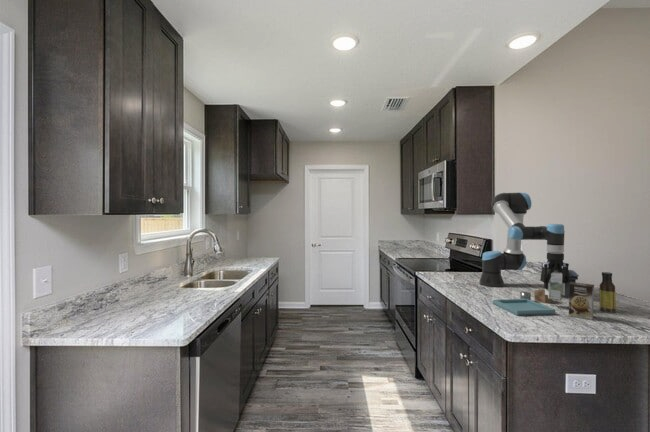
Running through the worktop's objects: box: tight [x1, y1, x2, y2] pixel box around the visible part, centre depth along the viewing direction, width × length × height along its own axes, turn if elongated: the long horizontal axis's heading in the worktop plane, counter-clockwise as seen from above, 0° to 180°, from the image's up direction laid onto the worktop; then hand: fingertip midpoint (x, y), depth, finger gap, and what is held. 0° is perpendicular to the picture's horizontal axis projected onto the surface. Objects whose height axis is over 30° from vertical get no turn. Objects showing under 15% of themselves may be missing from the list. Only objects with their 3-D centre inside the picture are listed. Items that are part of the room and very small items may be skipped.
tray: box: [492, 298, 556, 317], centre depth 168 cm, size 20×20×2 cm
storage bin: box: [550, 269, 580, 299], centre depth 196 cm, size 21×16×14 cm
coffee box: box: [568, 281, 595, 321], centre depth 156 cm, size 9×6×16 cm
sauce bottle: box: [598, 271, 617, 313], centre depth 164 cm, size 6×6×20 cm
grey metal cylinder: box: [519, 291, 532, 300], centre depth 183 cm, size 5×5×5 cm
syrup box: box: [548, 272, 563, 301], centre depth 172 cm, size 6×6×14 cm
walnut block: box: [534, 289, 553, 304], centre depth 183 cm, size 6×6×6 cm
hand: (554, 294), depth 172 cm, fingers closed on syrup box, 8 cm apart
